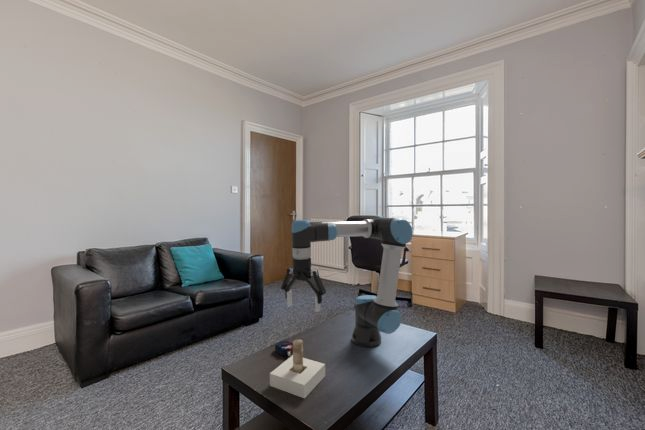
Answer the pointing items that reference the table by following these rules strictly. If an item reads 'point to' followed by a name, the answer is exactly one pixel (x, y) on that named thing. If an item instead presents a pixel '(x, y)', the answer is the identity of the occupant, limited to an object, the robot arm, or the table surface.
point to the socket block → (297, 377)
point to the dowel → (298, 356)
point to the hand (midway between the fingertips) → (303, 308)
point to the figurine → (284, 348)
